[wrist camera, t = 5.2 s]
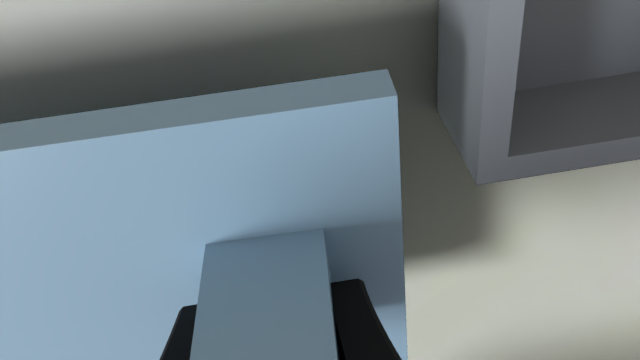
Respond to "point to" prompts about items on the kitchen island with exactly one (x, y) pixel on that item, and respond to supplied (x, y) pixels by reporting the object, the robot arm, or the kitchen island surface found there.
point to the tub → (539, 84)
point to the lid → (202, 223)
